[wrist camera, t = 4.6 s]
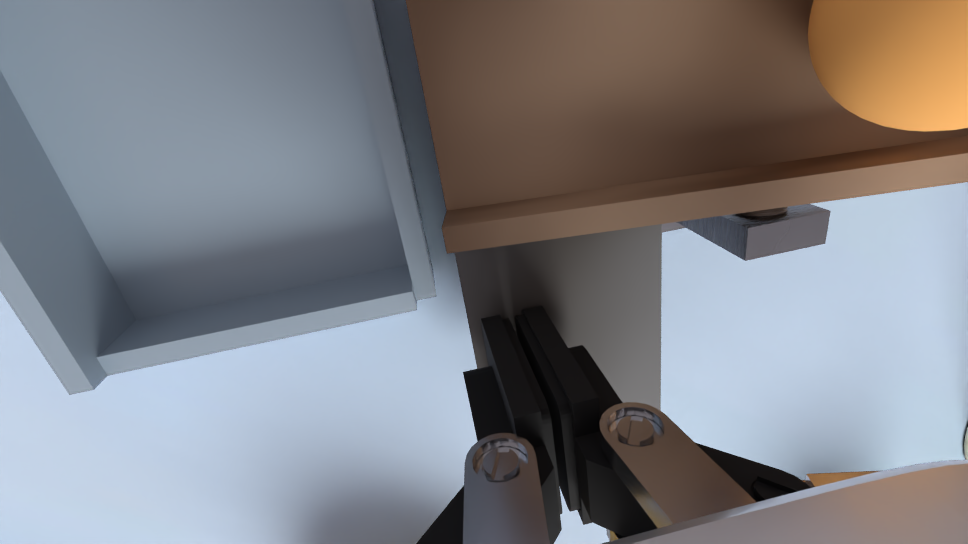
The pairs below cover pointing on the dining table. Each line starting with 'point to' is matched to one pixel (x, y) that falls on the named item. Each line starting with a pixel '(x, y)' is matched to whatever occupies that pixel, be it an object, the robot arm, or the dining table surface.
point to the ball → (894, 60)
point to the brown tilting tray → (631, 151)
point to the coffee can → (966, 445)
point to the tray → (199, 178)
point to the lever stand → (762, 230)
